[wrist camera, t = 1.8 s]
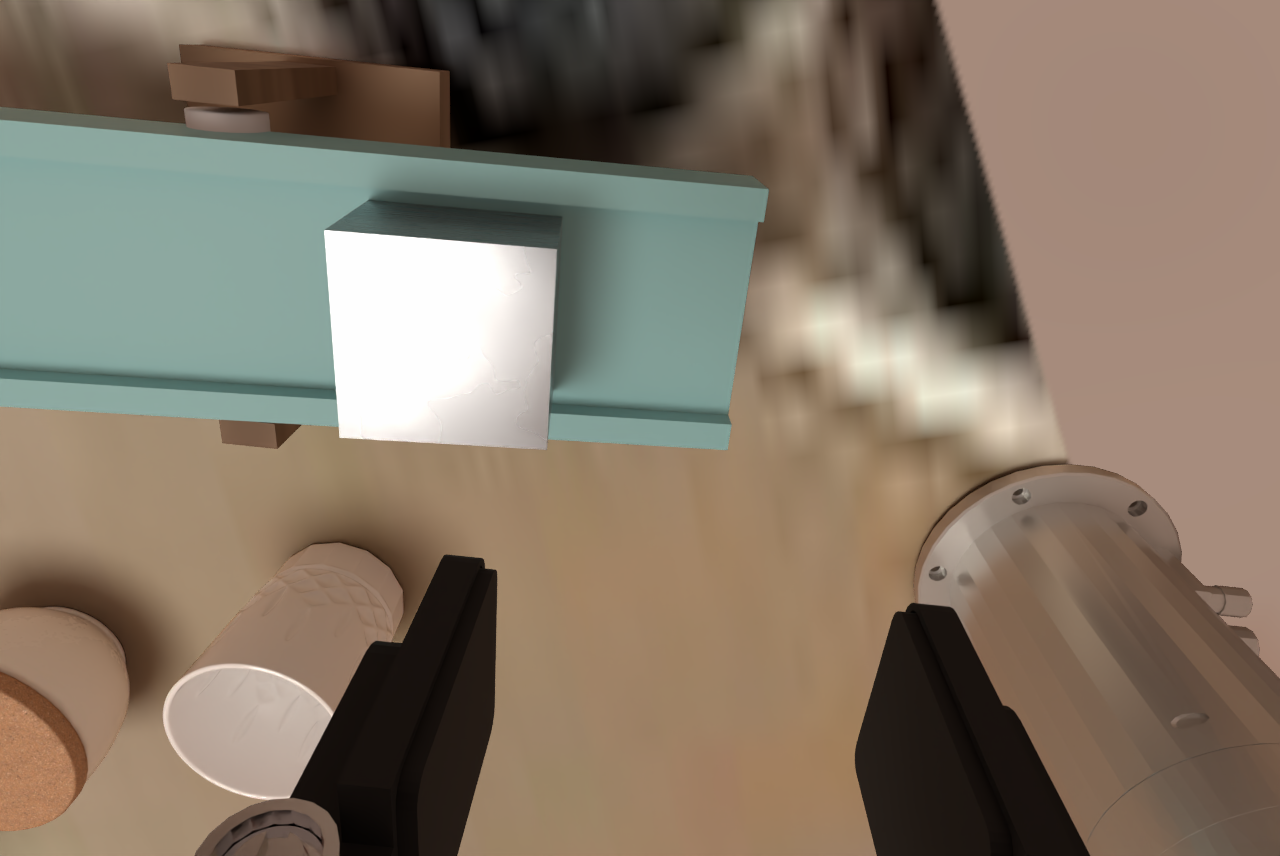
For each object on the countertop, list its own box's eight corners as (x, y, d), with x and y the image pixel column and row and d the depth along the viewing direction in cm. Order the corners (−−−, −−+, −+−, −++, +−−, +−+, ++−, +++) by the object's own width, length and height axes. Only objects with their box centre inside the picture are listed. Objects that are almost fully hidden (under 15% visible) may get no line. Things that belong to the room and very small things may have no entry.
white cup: (440, 630, 44) (378, 780, 35) (316, 664, 45) (226, 816, 36) (373, 514, 41) (286, 644, 32) (242, 554, 42) (124, 690, 33)
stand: (449, 71, 32) (368, 76, 23) (451, 373, 37) (387, 465, 29) (200, 45, 32) (30, 41, 23) (239, 351, 37) (113, 436, 29)
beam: (748, 156, 28) (779, 178, 23) (710, 415, 32) (730, 478, 27) (-327, 54, 25) (-542, 57, 20) (-211, 356, 29) (-365, 416, 24)
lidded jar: (-40, 556, 43) (-215, 679, 35) (159, 590, 44) (34, 720, 35) (-7, 702, 48) (-155, 843, 39) (173, 732, 48) (65, 877, 40)
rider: (562, 216, 25) (556, 249, 21) (553, 390, 28) (546, 449, 24) (368, 200, 25) (324, 230, 21) (377, 379, 27) (339, 437, 23)
